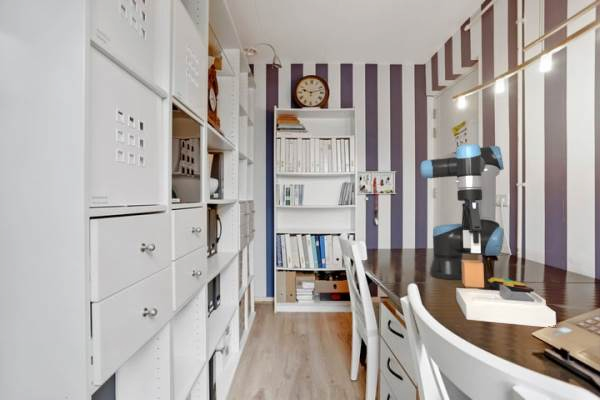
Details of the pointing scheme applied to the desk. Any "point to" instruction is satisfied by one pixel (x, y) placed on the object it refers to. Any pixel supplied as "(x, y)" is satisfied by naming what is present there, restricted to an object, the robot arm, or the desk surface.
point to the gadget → (508, 285)
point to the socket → (504, 308)
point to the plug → (472, 274)
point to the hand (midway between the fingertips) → (471, 250)
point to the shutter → (514, 295)
